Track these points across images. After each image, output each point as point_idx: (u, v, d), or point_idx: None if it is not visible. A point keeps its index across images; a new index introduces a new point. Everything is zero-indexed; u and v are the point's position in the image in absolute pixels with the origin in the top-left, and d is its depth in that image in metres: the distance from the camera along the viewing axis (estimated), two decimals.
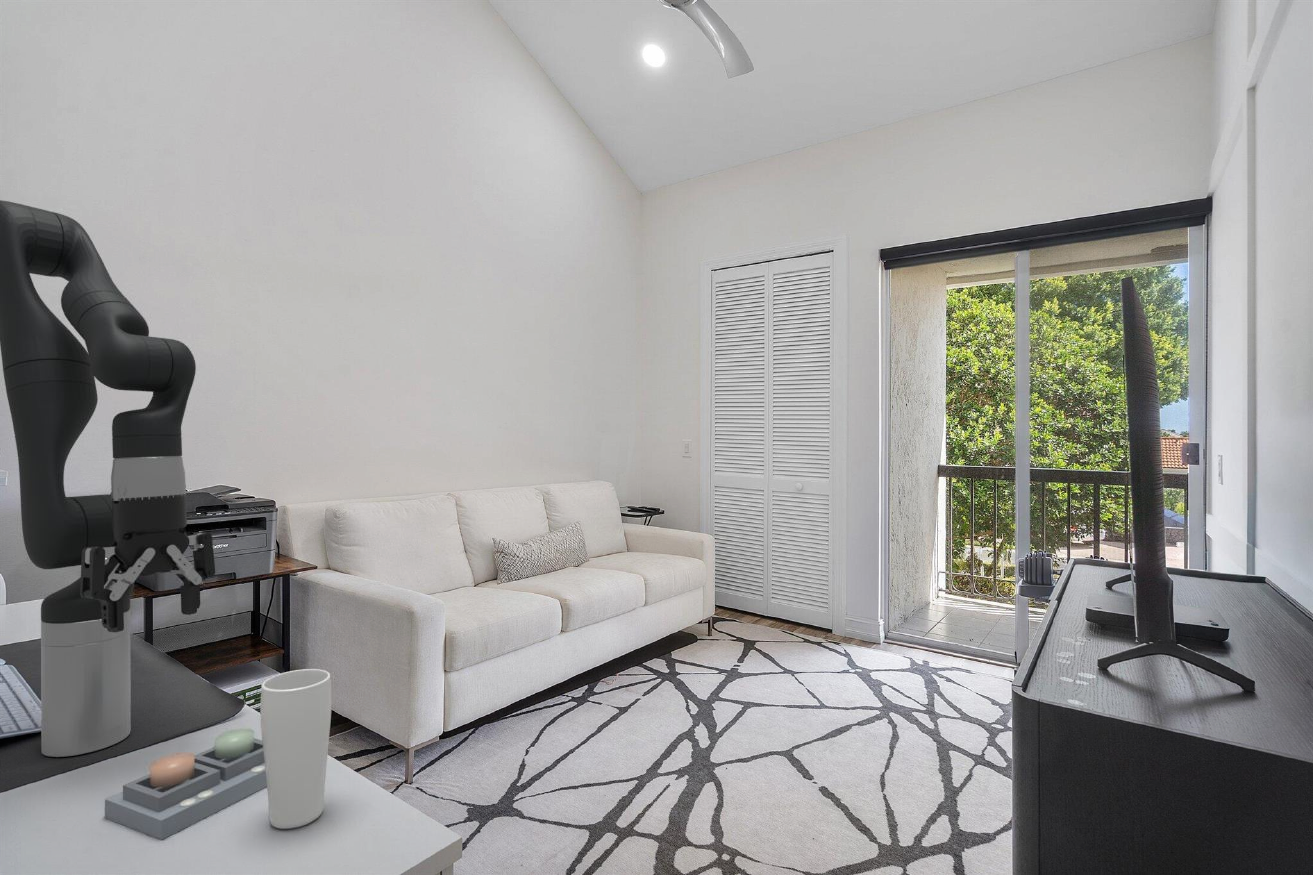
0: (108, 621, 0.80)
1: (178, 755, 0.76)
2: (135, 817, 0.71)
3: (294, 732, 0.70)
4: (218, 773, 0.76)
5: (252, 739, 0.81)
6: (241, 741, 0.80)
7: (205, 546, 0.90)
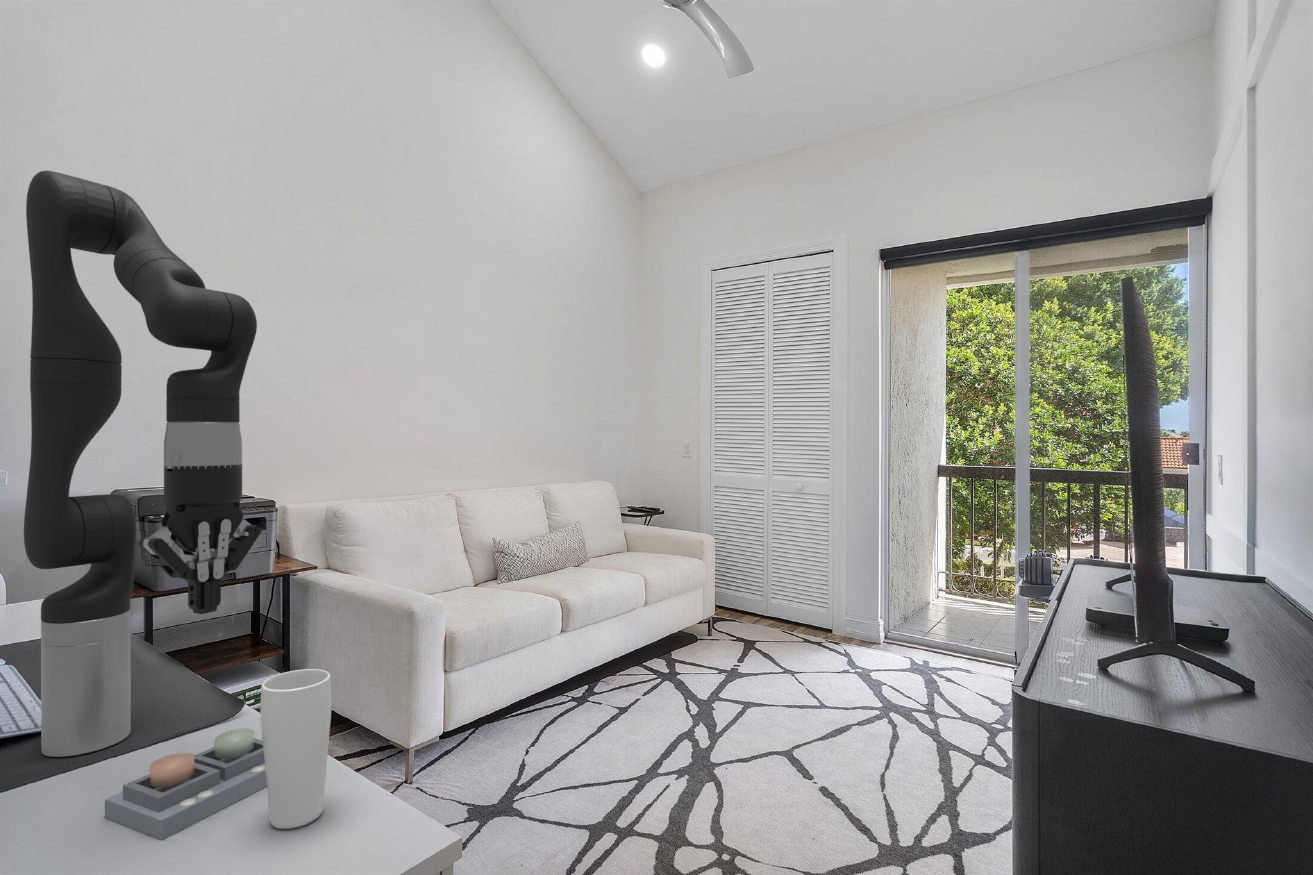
0: (195, 602, 0.76)
1: (178, 755, 0.76)
2: (135, 817, 0.71)
3: (294, 732, 0.70)
4: (218, 773, 0.76)
5: (252, 739, 0.81)
6: (241, 741, 0.80)
7: (249, 537, 0.81)
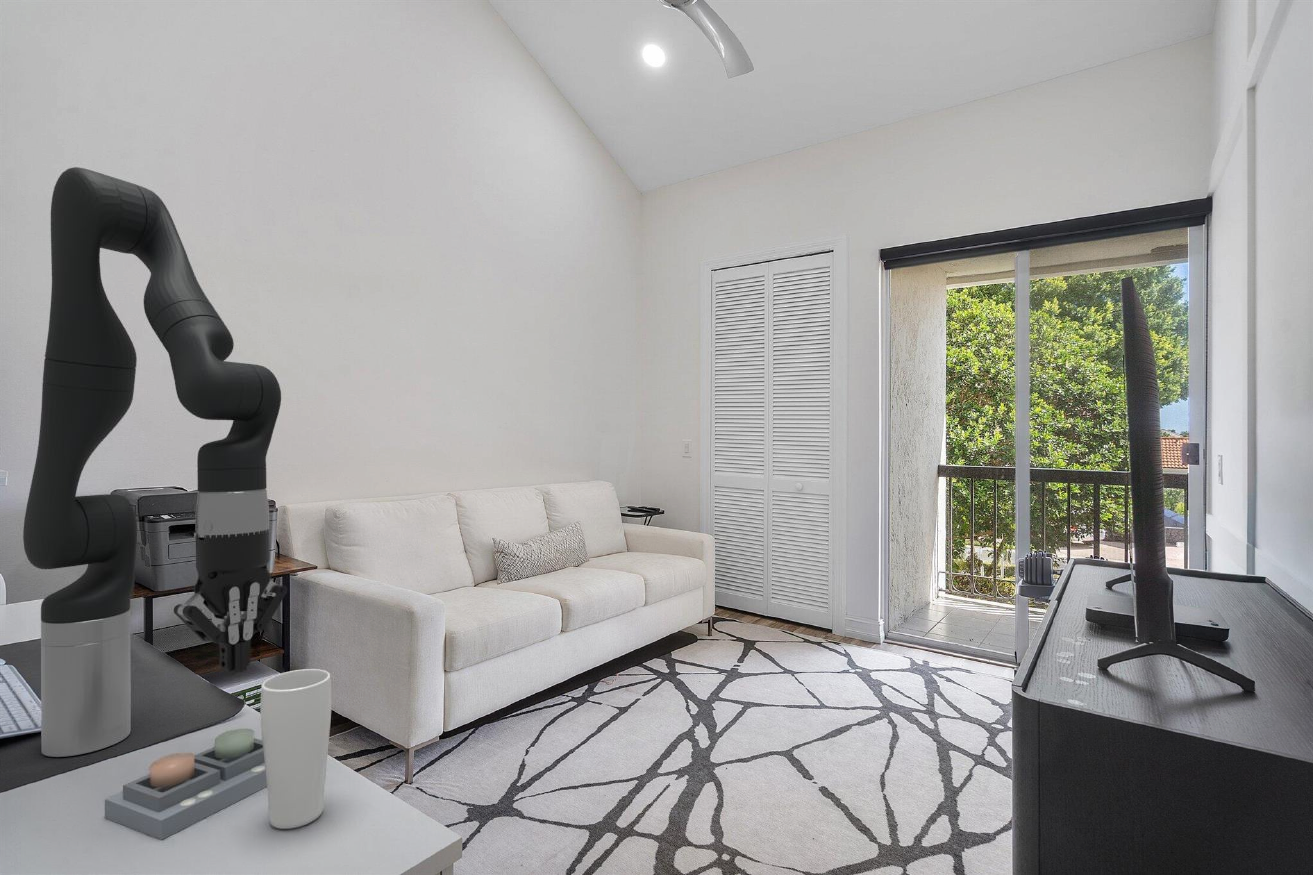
0: (227, 664, 0.79)
1: (178, 755, 0.76)
2: (135, 817, 0.71)
3: (294, 732, 0.70)
4: (218, 773, 0.76)
5: (252, 739, 0.81)
6: (241, 741, 0.80)
7: (276, 597, 0.85)
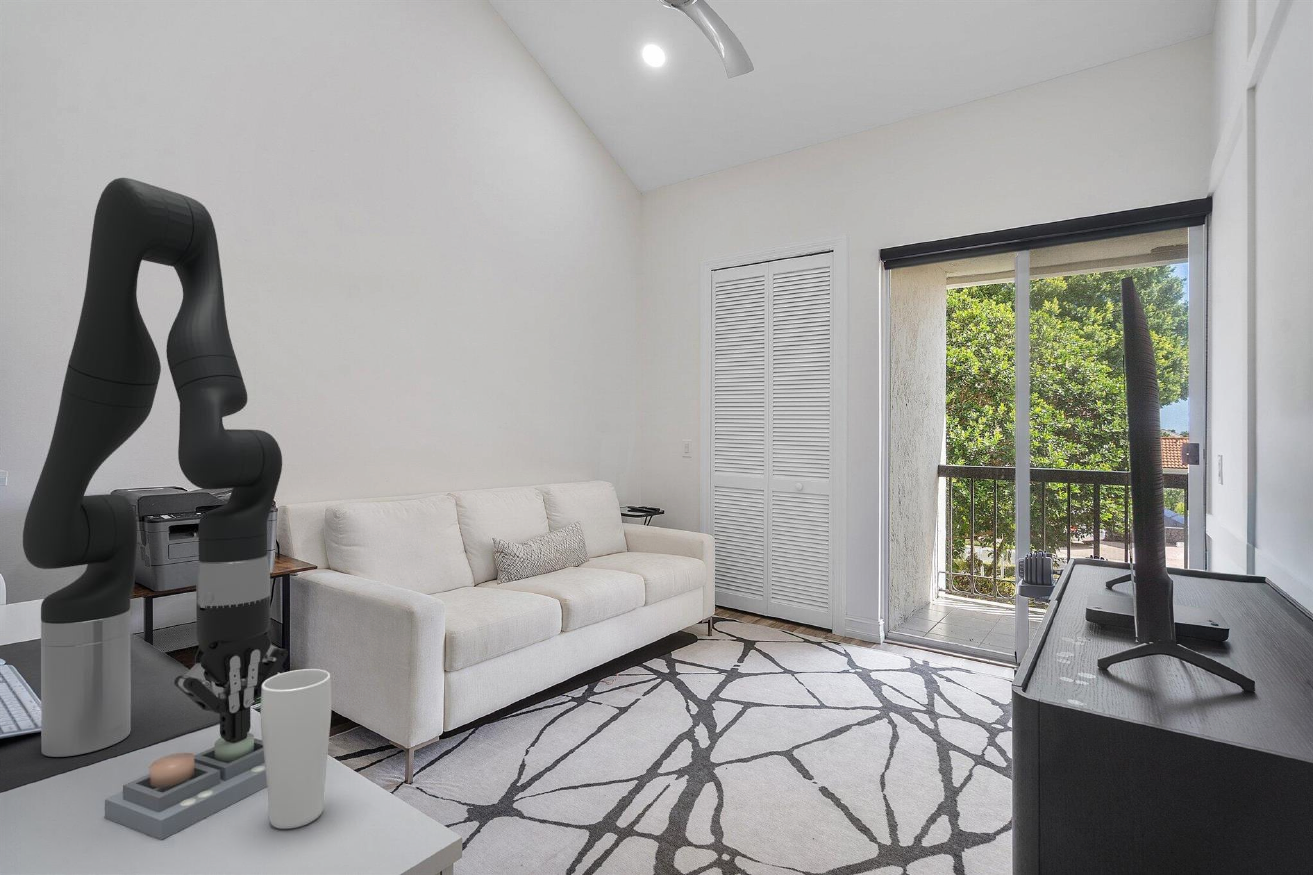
0: (227, 733, 0.79)
1: (178, 755, 0.76)
2: (135, 817, 0.71)
3: (294, 732, 0.70)
4: (218, 773, 0.76)
5: (252, 743, 0.81)
6: (241, 745, 0.80)
7: (276, 661, 0.85)
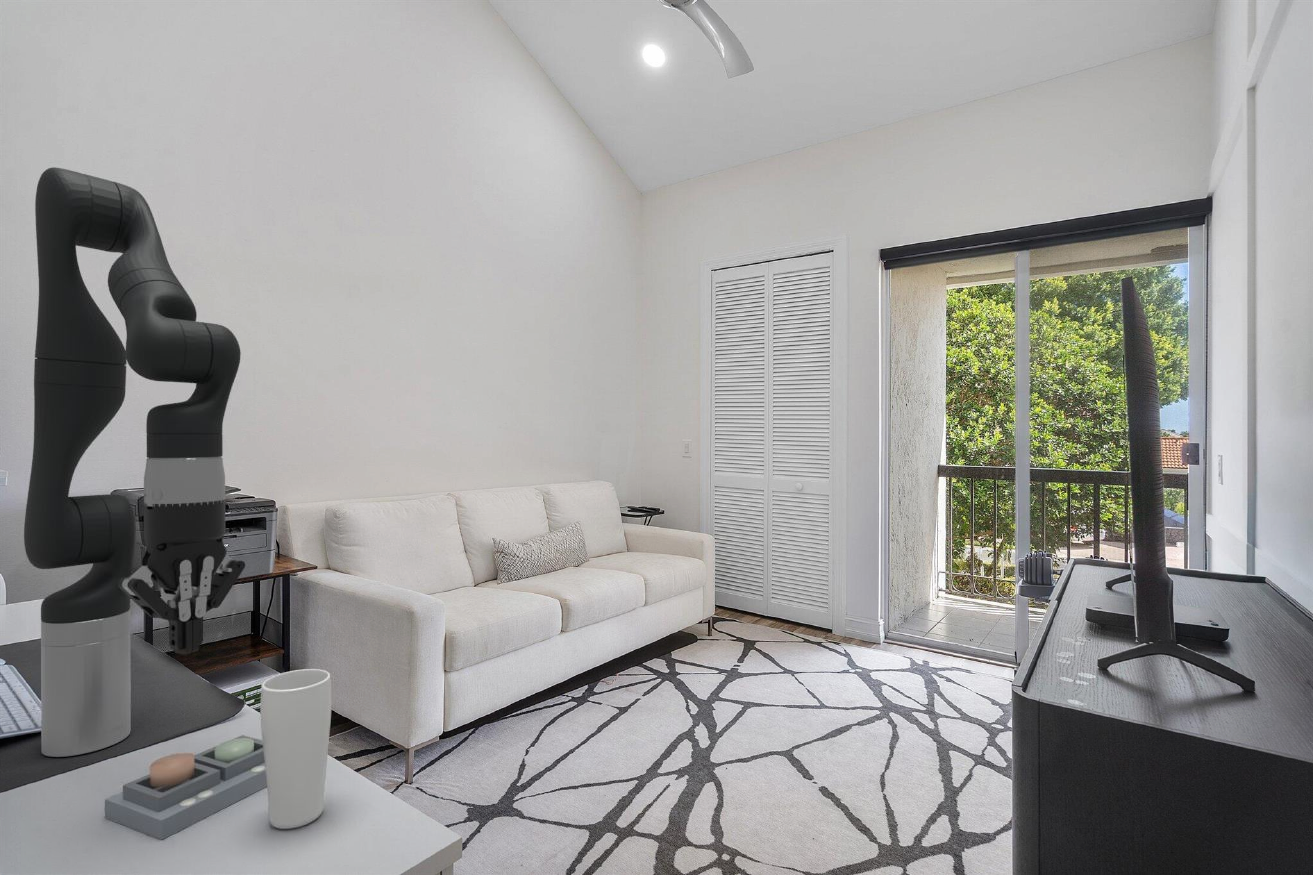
0: (177, 642, 0.74)
1: (178, 755, 0.76)
2: (135, 817, 0.71)
3: (294, 732, 0.70)
4: (218, 773, 0.76)
5: (252, 749, 0.81)
6: (241, 750, 0.80)
7: (232, 573, 0.80)
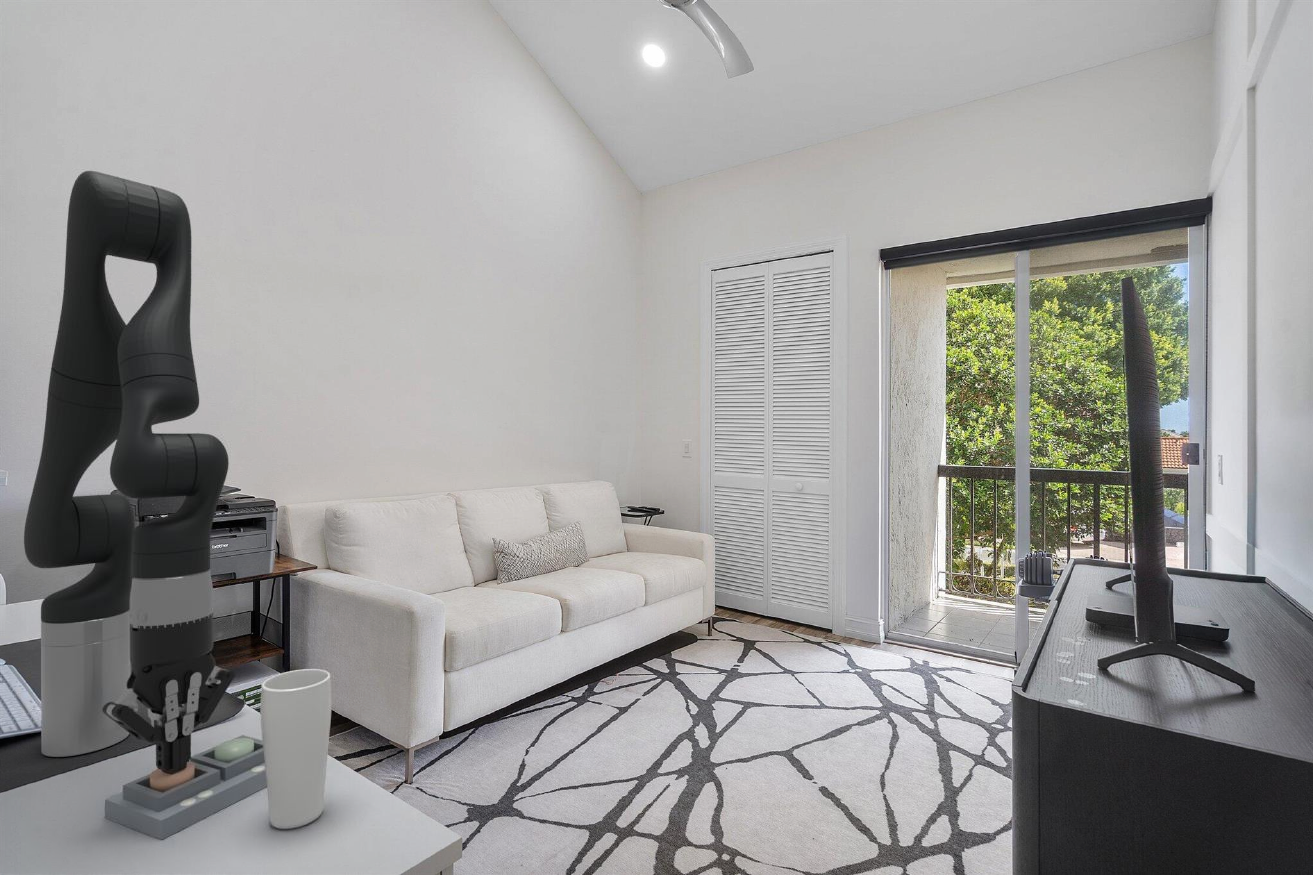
0: (163, 763, 0.73)
1: None
2: (135, 817, 0.71)
3: (294, 732, 0.70)
4: (218, 773, 0.76)
5: (252, 749, 0.81)
6: (241, 750, 0.80)
7: (221, 684, 0.78)
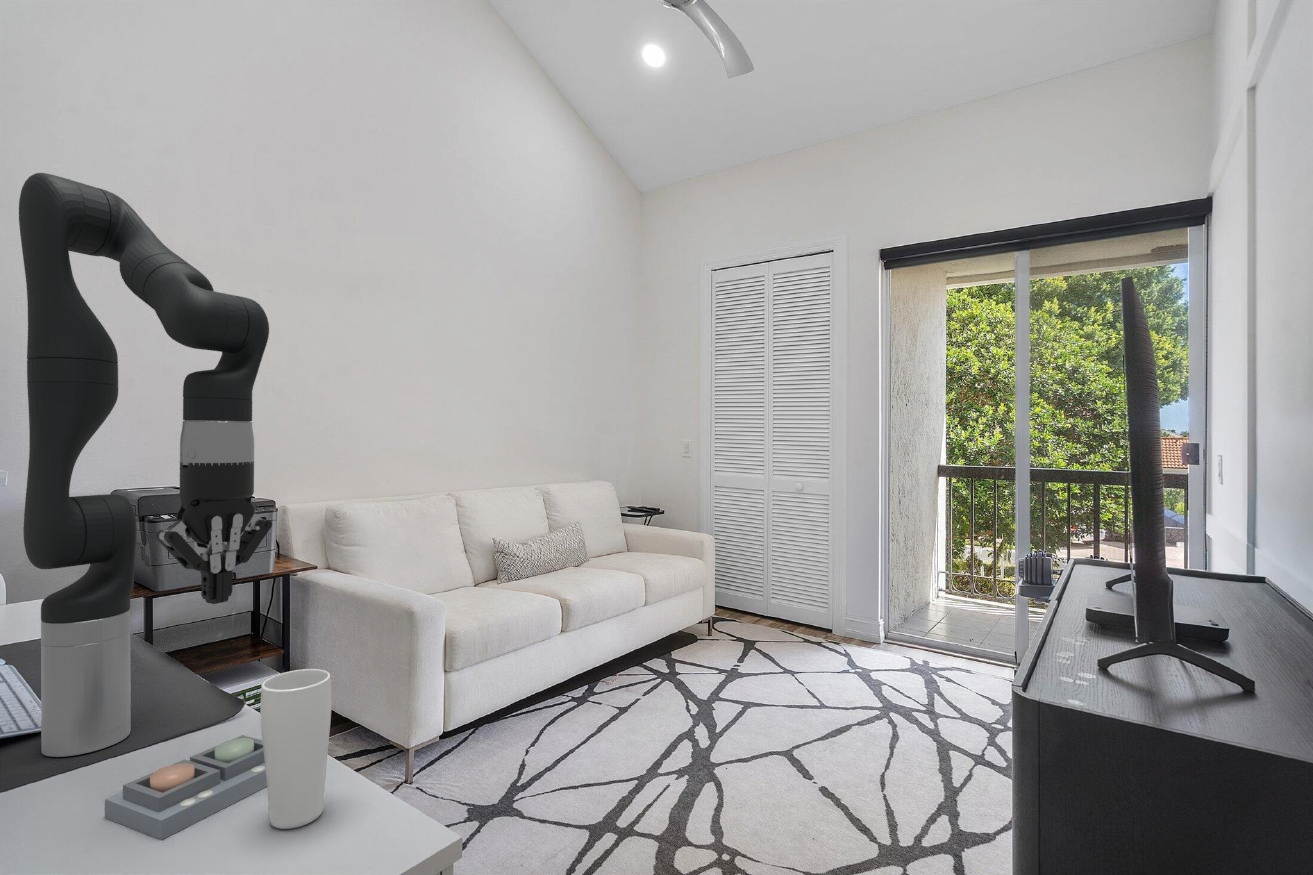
0: (208, 593, 0.80)
1: (178, 765, 0.76)
2: (135, 817, 0.71)
3: (294, 732, 0.70)
4: (218, 773, 0.76)
5: (252, 749, 0.81)
6: (241, 750, 0.80)
7: (260, 531, 0.85)
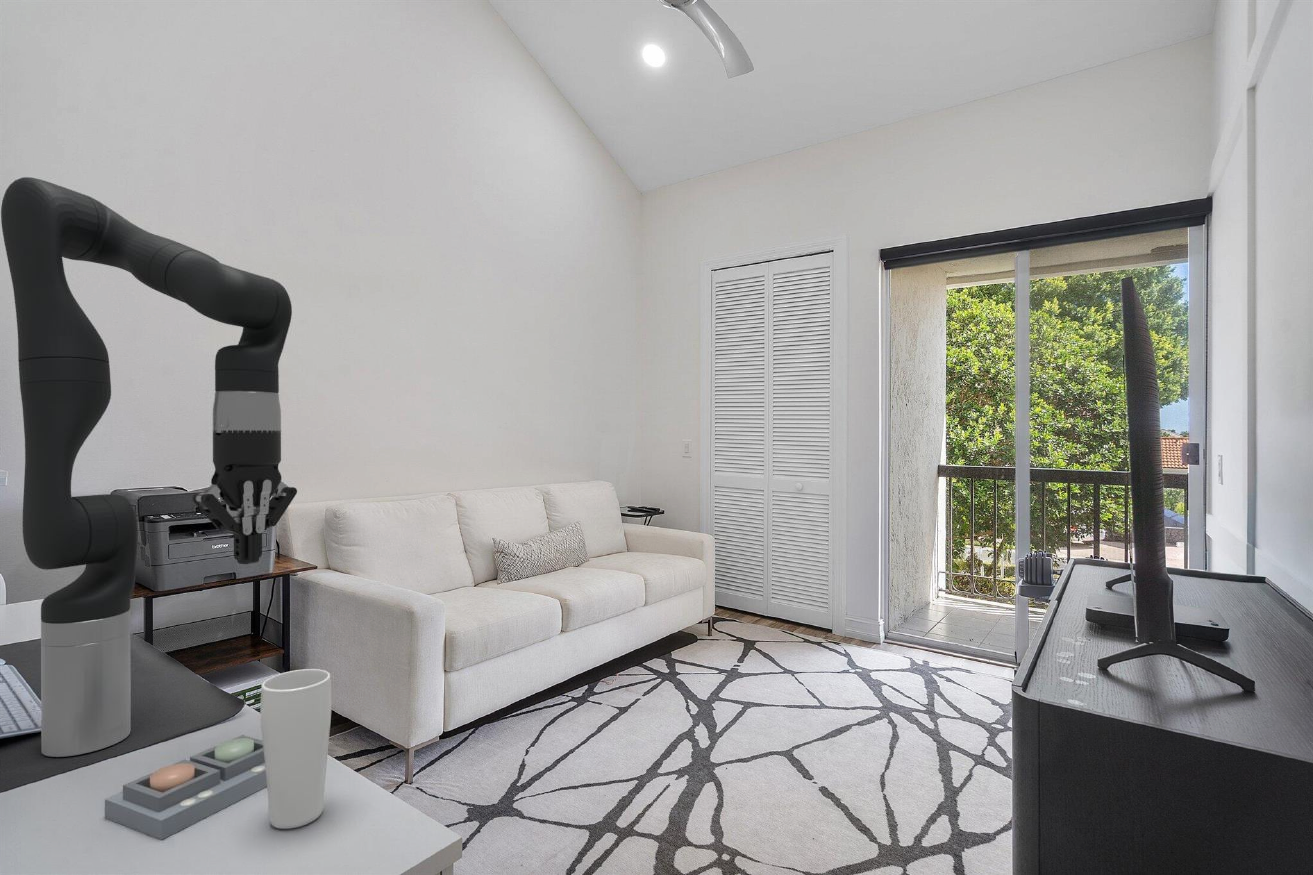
0: (240, 553, 0.85)
1: (178, 765, 0.76)
2: (135, 817, 0.71)
3: (294, 732, 0.70)
4: (218, 773, 0.76)
5: (252, 749, 0.81)
6: (241, 750, 0.80)
7: (286, 497, 0.90)
